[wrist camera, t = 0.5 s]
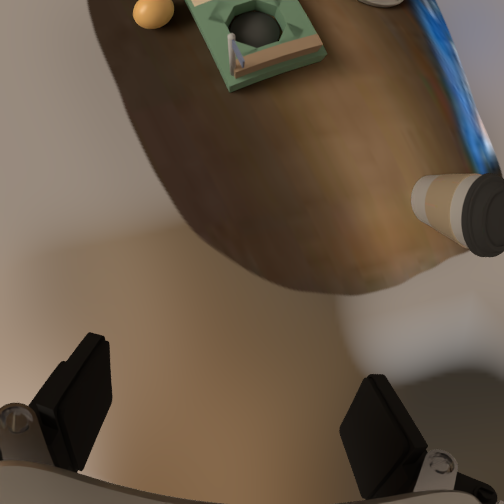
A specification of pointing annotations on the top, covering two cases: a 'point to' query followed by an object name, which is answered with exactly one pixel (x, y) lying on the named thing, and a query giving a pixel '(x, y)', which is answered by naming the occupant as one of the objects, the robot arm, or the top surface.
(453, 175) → the coffee cup
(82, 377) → the robot arm
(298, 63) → the putting mat
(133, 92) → the top surface
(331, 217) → the top surface
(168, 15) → the ball
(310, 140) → the top surface
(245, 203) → the top surface
